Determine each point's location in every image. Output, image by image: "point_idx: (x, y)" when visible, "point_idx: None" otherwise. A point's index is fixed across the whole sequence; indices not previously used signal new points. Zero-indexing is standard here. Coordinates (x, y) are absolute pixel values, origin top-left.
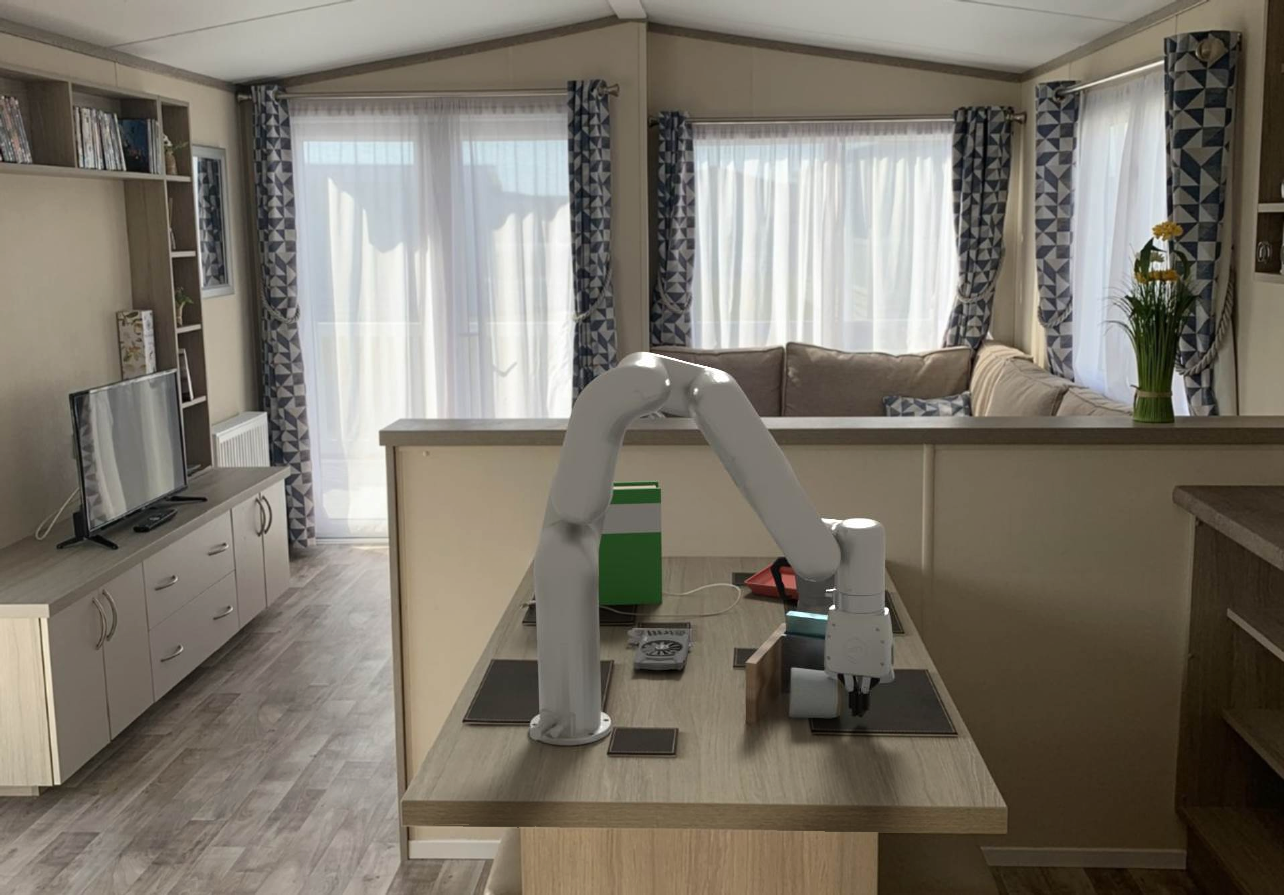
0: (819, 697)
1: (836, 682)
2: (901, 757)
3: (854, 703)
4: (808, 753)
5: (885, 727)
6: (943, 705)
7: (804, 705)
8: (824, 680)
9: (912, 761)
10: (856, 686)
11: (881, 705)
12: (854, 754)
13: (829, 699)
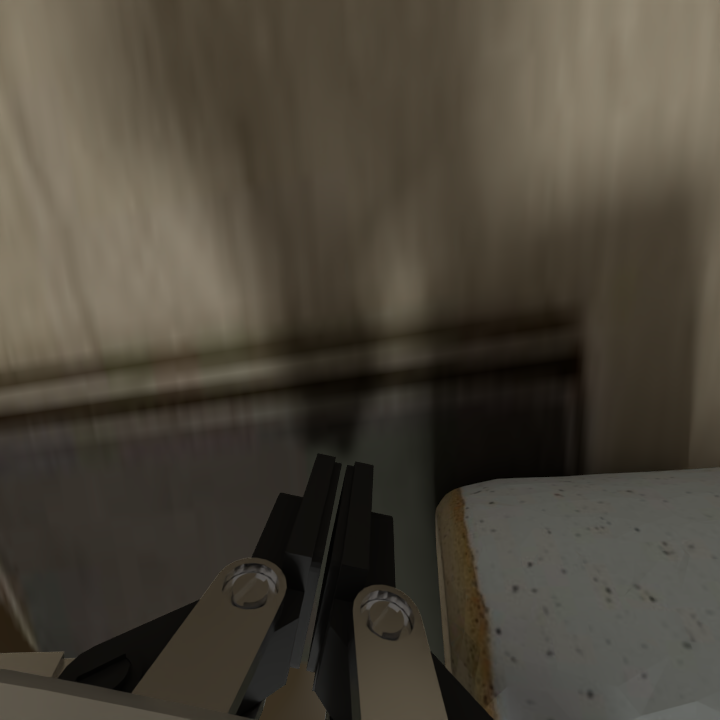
0: (618, 532)
1: (508, 695)
2: (100, 93)
3: (353, 505)
4: (625, 32)
5: (222, 447)
6: None
7: (692, 484)
8: (636, 712)
9: (37, 47)
10: (329, 641)
11: None
12: (349, 79)
13: (533, 525)
